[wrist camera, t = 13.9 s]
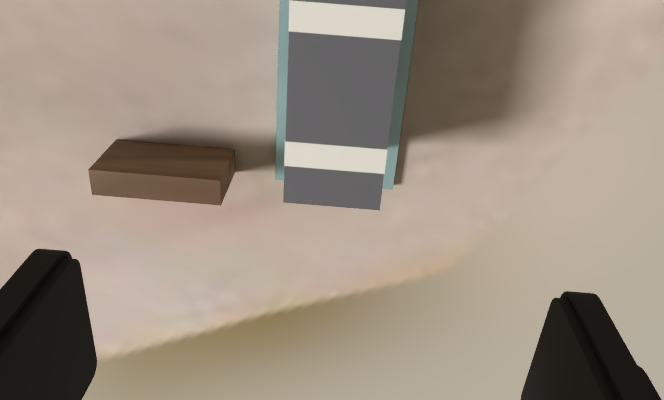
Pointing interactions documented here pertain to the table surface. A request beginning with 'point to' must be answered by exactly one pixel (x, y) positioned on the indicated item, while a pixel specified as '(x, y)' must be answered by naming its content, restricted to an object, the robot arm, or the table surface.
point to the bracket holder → (163, 172)
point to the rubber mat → (398, 100)
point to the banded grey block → (340, 99)
